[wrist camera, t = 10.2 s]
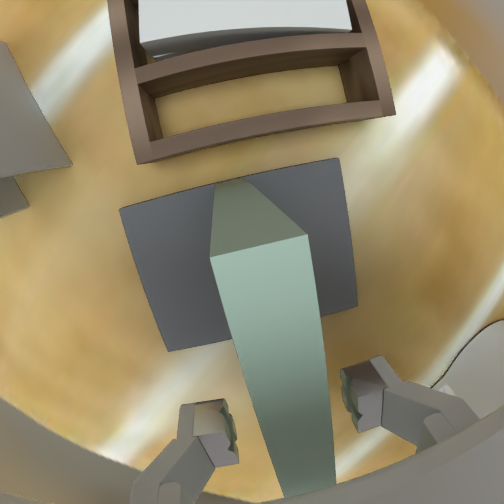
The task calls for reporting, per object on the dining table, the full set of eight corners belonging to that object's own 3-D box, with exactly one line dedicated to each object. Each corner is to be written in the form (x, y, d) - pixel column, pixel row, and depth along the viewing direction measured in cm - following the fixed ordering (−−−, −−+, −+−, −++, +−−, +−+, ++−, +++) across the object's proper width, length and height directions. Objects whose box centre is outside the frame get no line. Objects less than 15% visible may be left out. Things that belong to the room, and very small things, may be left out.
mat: (355, 302, 26) (357, 306, 26) (169, 347, 26) (168, 351, 25) (336, 157, 22) (339, 158, 22) (121, 208, 22) (118, 209, 21)
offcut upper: (335, 43, 18) (352, 29, 15) (150, 57, 17) (140, 42, 14) (323, -15, 16) (337, -34, 13) (147, -5, 15) (138, -25, 12)
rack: (362, 120, 22) (396, 114, 17) (154, 162, 21) (136, 164, 17) (322, -25, 18) (342, -55, 13) (124, 6, 17) (105, -22, 13)
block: (244, 177, 22) (307, 234, 6) (276, 328, 25) (337, 505, 10) (215, 184, 22) (209, 257, 6) (252, 334, 25) (291, 517, 10)
